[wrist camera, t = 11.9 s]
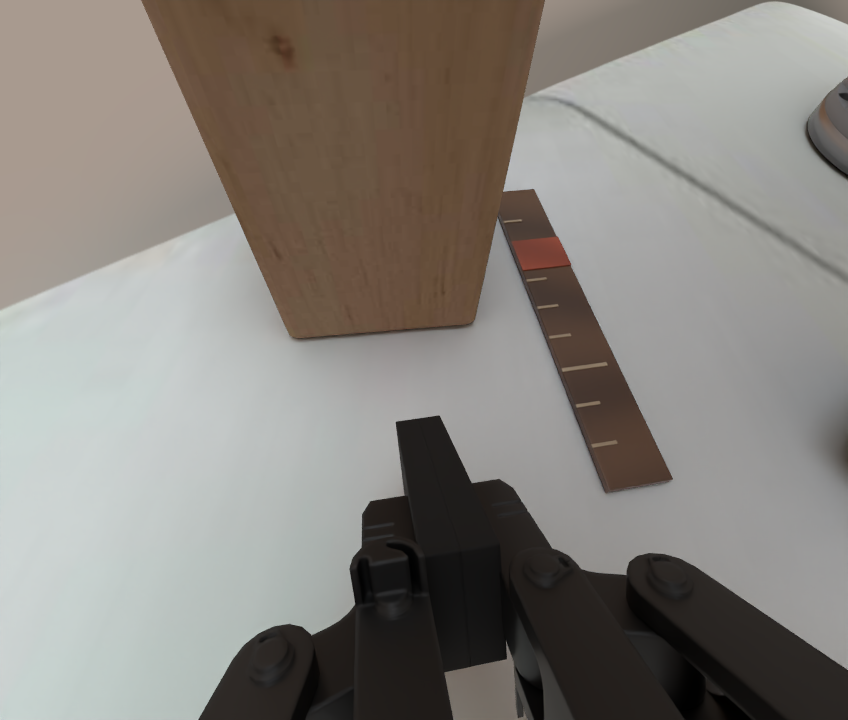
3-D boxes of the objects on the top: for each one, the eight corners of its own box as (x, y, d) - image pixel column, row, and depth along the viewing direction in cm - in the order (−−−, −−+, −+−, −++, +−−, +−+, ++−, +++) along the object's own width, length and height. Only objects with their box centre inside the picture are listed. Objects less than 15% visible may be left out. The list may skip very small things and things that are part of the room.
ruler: (668, 481, 18) (674, 479, 18) (605, 493, 18) (610, 490, 18) (532, 193, 28) (534, 187, 28) (490, 197, 28) (491, 191, 28)
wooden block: (288, 342, 22) (-181, -684, 4) (296, 214, 27) (92, -490, 10) (476, 327, 22) (687, -585, 5) (448, 206, 28) (510, -456, 10)
